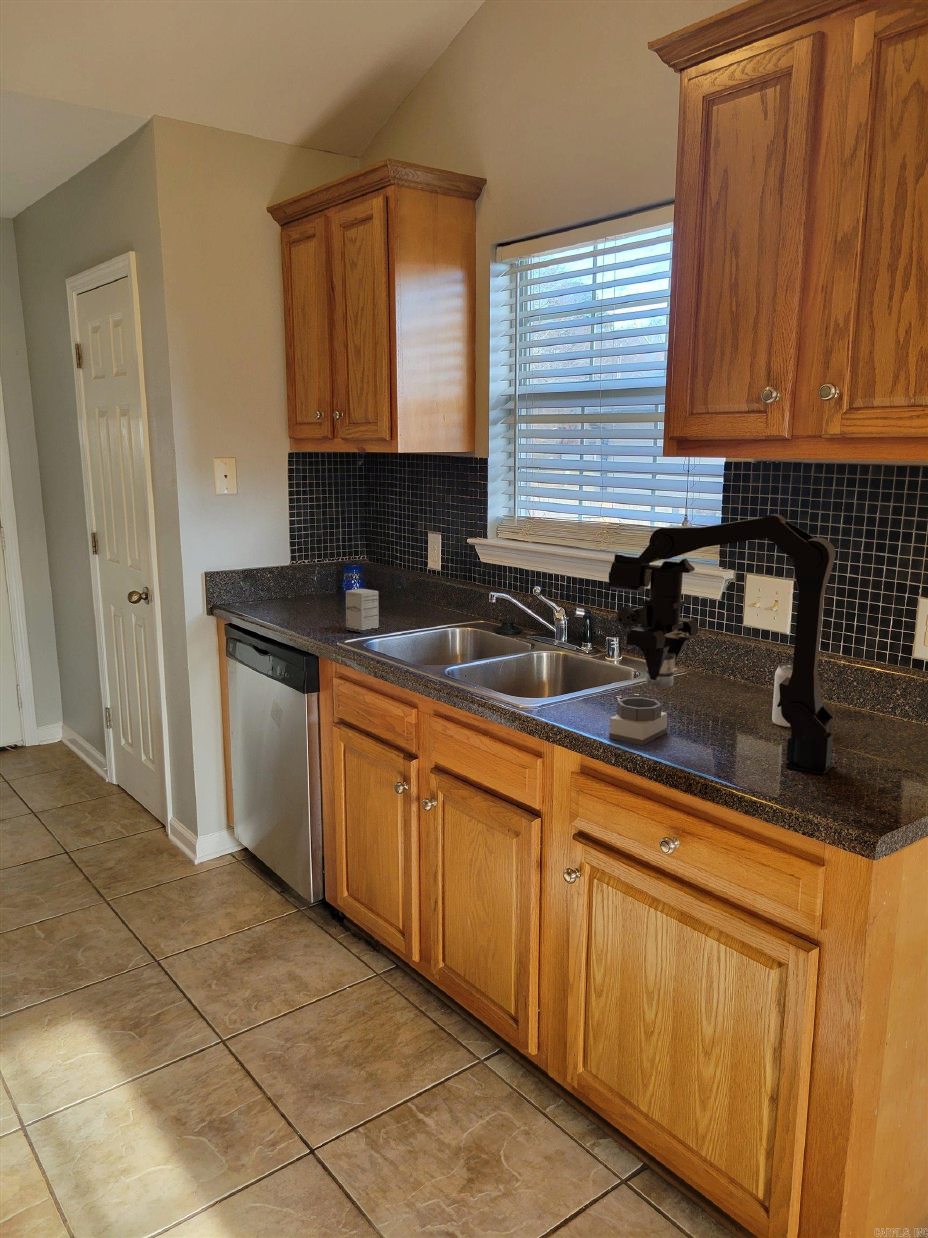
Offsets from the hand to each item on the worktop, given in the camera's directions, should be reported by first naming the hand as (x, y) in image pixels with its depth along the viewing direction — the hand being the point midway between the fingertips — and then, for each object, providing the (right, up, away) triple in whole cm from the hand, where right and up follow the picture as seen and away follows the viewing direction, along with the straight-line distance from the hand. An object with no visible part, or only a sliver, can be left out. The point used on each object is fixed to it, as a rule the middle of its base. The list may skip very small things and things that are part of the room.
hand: (659, 676), depth 171 cm
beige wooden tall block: (-68, +7, +109) cm, 129 cm away
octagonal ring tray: (-3, -12, +6) cm, 14 cm away
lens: (0, -1, 0) cm, 1 cm away
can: (+29, -11, +14) cm, 34 cm away
